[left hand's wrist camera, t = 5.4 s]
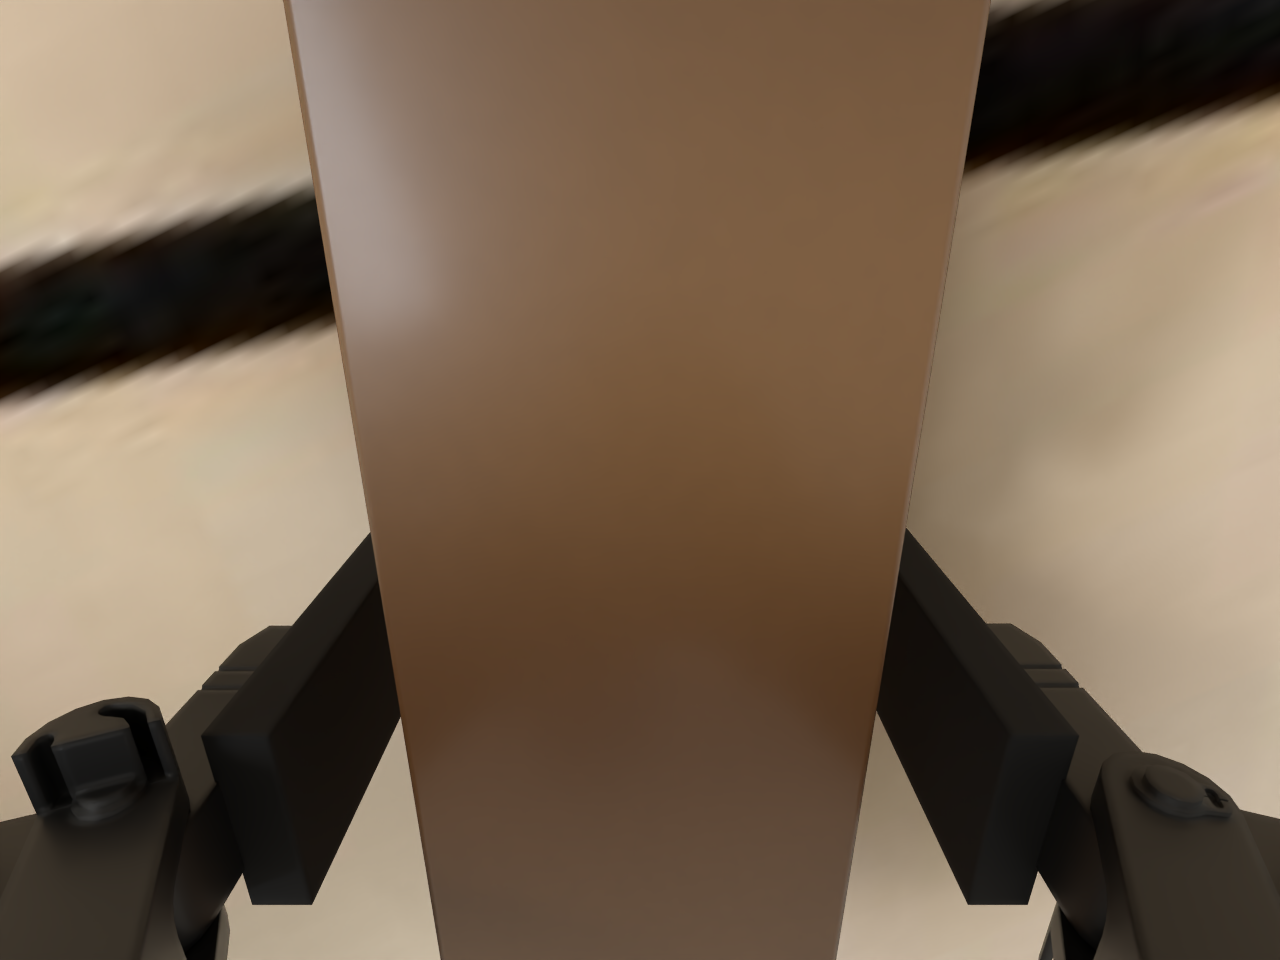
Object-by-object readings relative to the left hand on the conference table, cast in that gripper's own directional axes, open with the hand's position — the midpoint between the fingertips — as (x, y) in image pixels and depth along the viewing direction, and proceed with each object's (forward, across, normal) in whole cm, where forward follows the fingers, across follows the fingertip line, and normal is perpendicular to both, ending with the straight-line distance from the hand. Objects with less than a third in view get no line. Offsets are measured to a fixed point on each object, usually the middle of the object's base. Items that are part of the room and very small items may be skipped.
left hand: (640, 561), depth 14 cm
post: (+1, 0, -21) cm, 21 cm away
